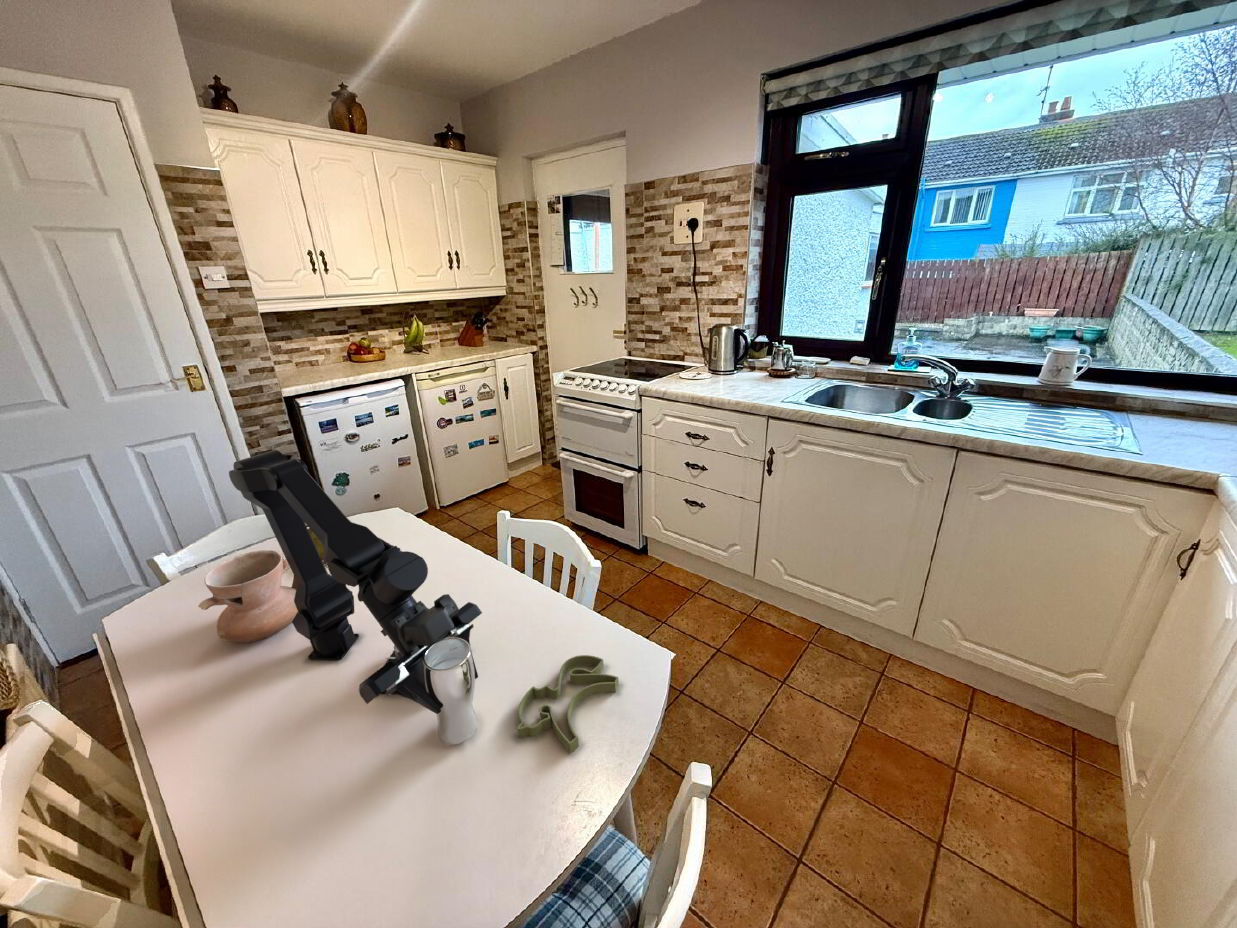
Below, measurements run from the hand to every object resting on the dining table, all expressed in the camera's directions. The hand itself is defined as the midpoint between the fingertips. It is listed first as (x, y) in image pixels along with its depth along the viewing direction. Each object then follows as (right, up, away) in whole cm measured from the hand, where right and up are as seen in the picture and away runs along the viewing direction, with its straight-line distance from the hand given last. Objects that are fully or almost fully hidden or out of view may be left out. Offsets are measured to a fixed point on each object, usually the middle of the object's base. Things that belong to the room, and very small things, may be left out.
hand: (458, 694), depth 72 cm
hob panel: (-11, -3, +15) cm, 19 cm away
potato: (-48, +11, +50) cm, 70 cm away
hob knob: (-13, 0, +14) cm, 19 cm away
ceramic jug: (-48, +1, +28) cm, 56 cm away
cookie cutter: (+16, -5, +8) cm, 18 cm away
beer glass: (-1, -7, +4) cm, 8 cm away
